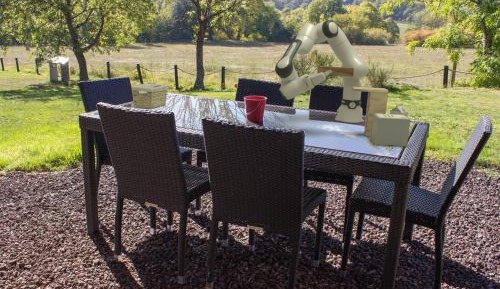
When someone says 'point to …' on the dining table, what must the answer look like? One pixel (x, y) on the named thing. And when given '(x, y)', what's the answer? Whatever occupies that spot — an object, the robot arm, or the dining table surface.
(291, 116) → the dining table surface
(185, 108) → the dining table surface
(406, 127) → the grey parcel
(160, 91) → the storage basket
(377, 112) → the pine shelf
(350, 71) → the walnut bar
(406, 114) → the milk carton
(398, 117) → the letter
